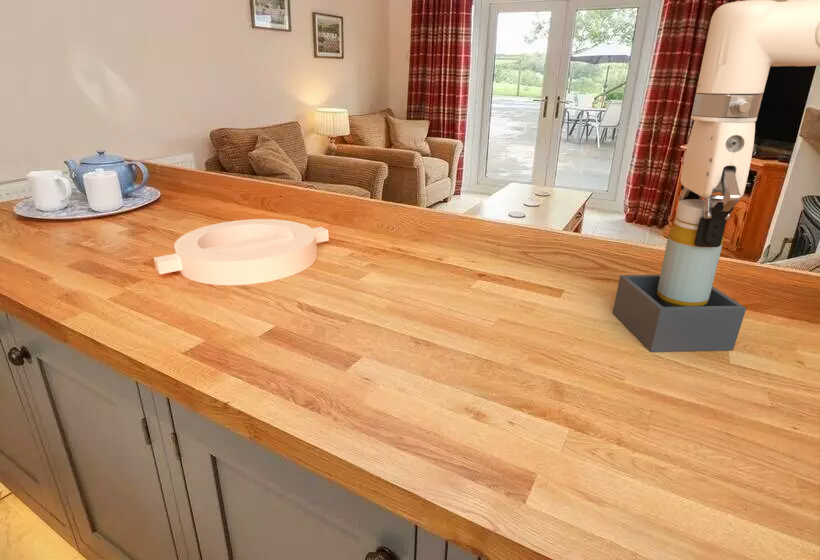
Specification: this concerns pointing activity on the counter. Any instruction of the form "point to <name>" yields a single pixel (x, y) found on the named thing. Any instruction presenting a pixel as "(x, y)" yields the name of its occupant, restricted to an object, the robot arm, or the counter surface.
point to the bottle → (687, 260)
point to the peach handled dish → (244, 252)
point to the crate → (676, 318)
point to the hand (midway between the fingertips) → (695, 236)
